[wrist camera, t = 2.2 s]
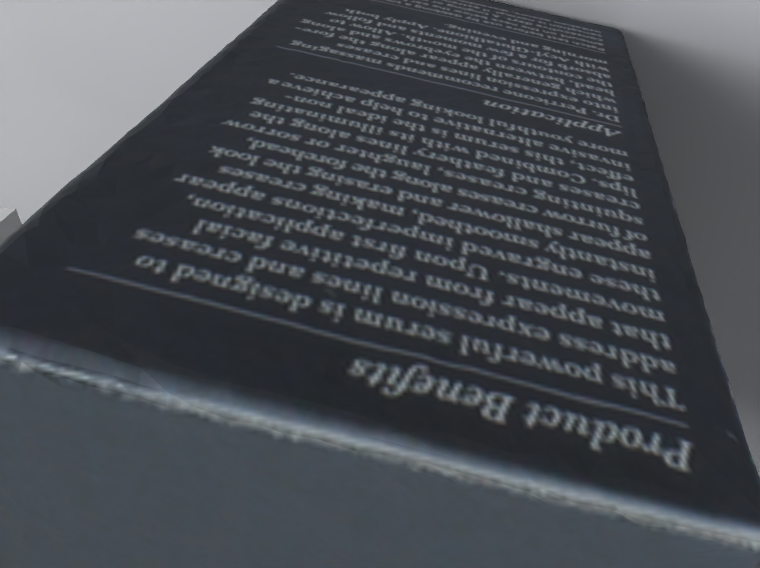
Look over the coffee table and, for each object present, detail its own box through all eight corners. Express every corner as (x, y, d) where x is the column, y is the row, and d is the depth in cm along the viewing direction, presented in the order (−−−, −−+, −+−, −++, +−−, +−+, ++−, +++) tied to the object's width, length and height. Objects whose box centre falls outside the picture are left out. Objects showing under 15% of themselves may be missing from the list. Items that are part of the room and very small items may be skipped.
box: (511, 354, 17) (478, 934, 9) (279, 297, 17) (27, 805, 9) (635, 20, 12) (825, 580, 4) (313, -51, 13) (-147, 330, 4)
